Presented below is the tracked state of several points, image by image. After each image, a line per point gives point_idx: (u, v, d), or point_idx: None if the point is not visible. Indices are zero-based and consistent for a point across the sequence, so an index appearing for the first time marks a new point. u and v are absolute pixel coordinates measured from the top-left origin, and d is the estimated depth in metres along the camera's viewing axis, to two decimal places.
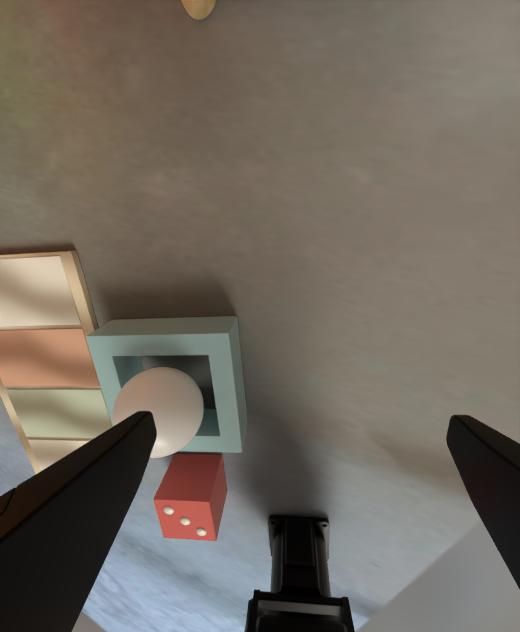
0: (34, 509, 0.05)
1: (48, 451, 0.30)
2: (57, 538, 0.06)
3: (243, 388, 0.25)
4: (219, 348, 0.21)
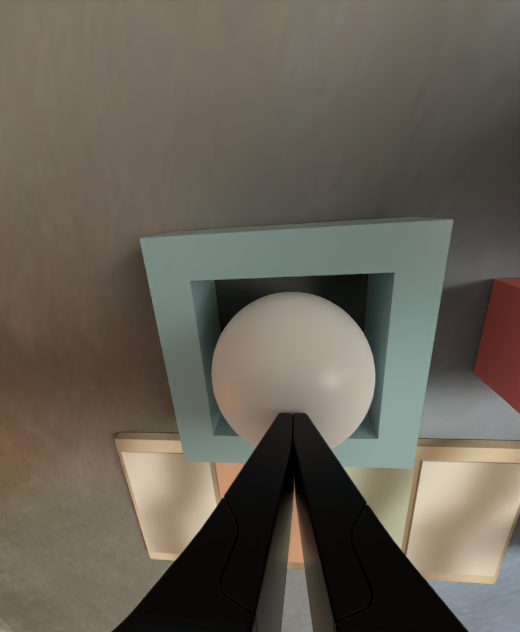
0: (268, 522, 0.05)
1: (431, 554, 0.19)
2: (277, 553, 0.05)
3: None
4: (173, 258, 0.11)
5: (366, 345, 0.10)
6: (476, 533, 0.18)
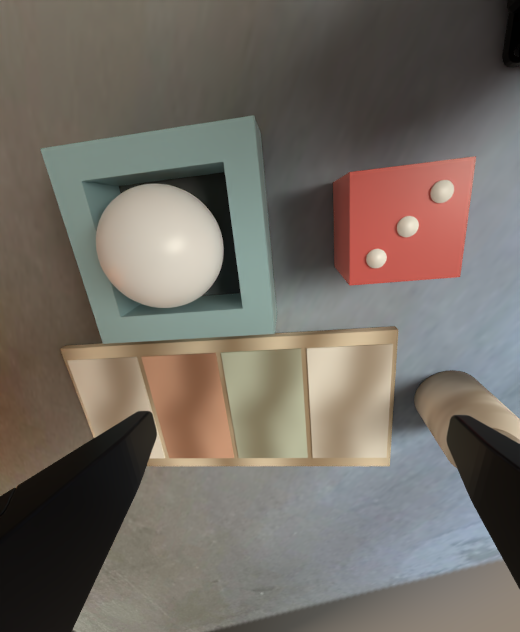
0: (34, 509, 0.05)
1: (331, 439, 0.23)
2: (57, 538, 0.06)
3: None
4: (66, 163, 0.15)
5: (202, 213, 0.14)
6: (364, 416, 0.22)
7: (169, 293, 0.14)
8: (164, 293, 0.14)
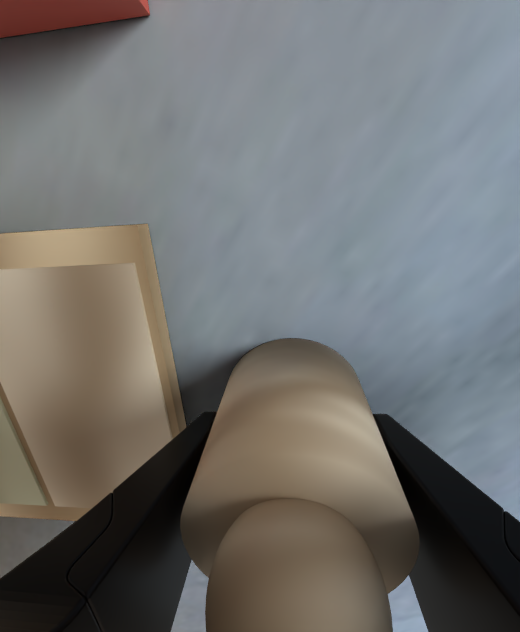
0: (142, 515, 0.05)
1: (76, 475, 0.11)
2: (159, 545, 0.05)
3: None
4: None
5: None
6: (124, 431, 0.10)
7: None
8: None
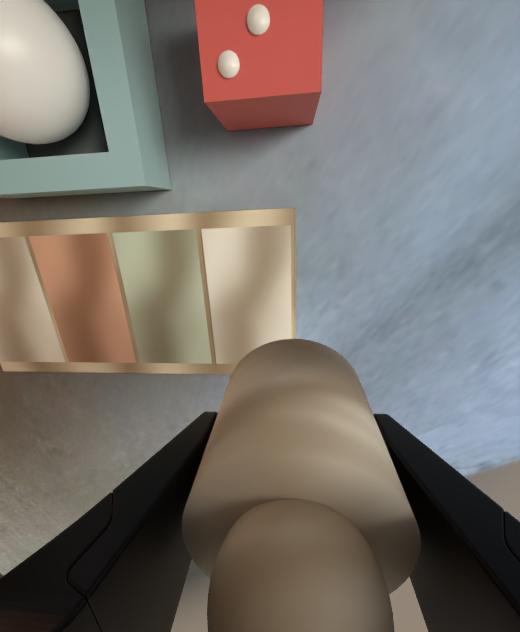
0: (142, 515, 0.05)
1: (234, 342, 0.21)
2: (159, 545, 0.05)
3: None
4: None
5: (38, 5, 0.12)
6: (266, 314, 0.20)
7: None
8: None
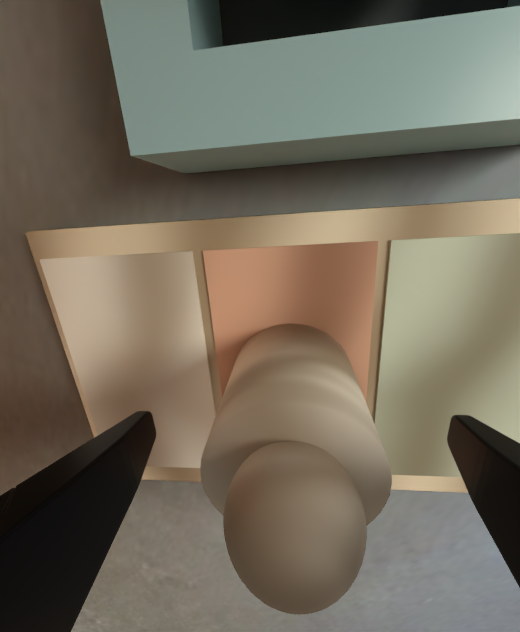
0: (33, 509, 0.05)
1: None
2: (56, 538, 0.06)
3: None
4: None
5: None
6: None
7: None
8: None
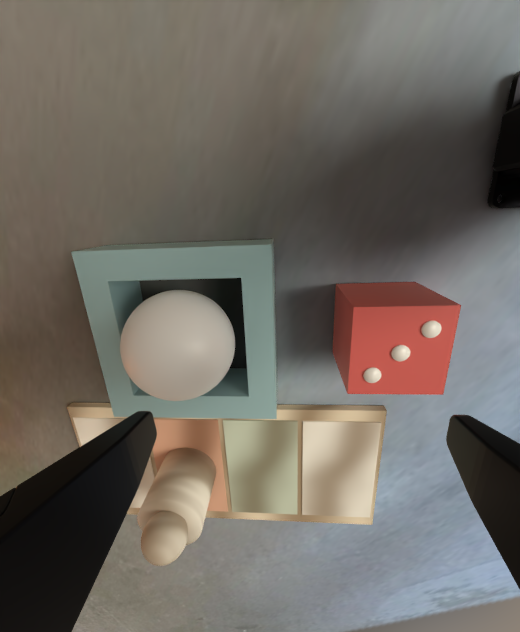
0: (34, 509, 0.05)
1: (320, 500, 0.24)
2: (57, 538, 0.06)
3: (205, 241, 0.18)
4: (95, 265, 0.16)
5: (220, 325, 0.15)
6: (351, 481, 0.24)
7: (186, 396, 0.15)
8: (182, 396, 0.15)
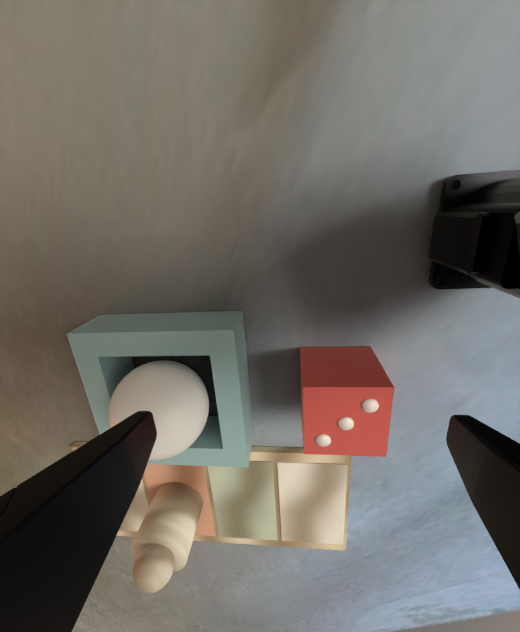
0: (34, 509, 0.05)
1: (297, 528, 0.27)
2: (57, 538, 0.06)
3: (182, 314, 0.20)
4: (86, 344, 0.19)
5: (191, 397, 0.18)
6: (324, 513, 0.26)
7: (164, 458, 0.18)
8: (160, 458, 0.18)
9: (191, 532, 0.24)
